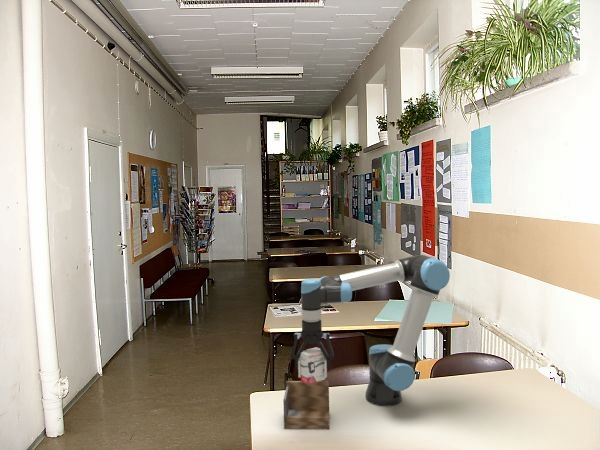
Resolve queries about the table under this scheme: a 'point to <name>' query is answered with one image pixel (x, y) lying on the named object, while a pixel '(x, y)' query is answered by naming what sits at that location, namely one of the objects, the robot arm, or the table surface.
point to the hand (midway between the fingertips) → (312, 376)
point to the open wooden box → (306, 405)
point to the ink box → (312, 365)
